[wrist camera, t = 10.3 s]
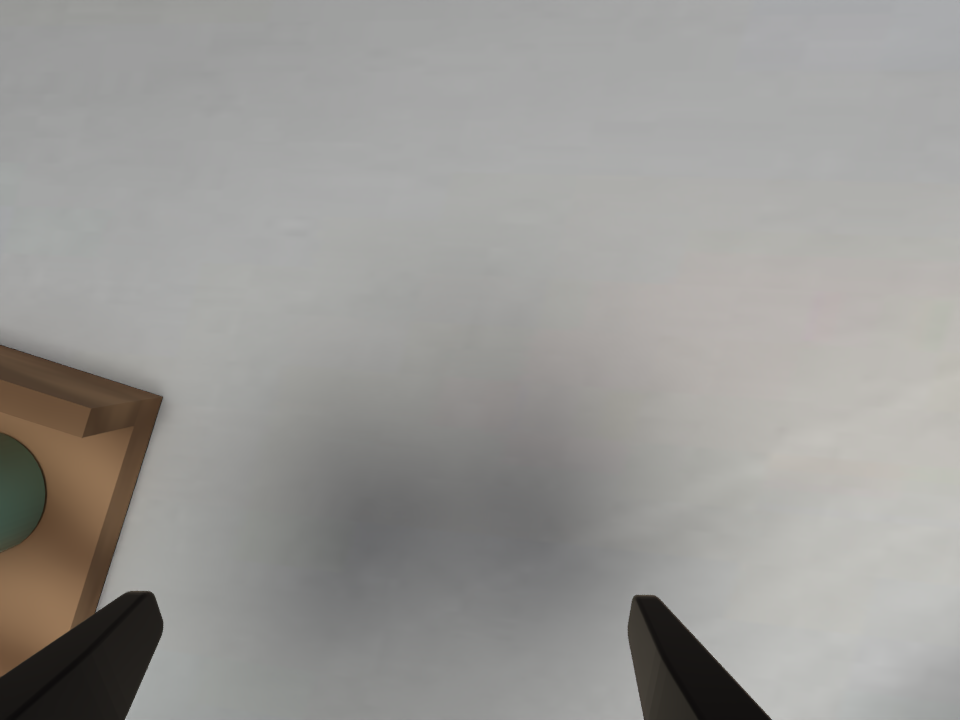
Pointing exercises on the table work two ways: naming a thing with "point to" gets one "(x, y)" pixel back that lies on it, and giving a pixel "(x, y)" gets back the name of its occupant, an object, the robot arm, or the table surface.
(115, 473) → the shelf board
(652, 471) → the table surface
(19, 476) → the mint green capsule
